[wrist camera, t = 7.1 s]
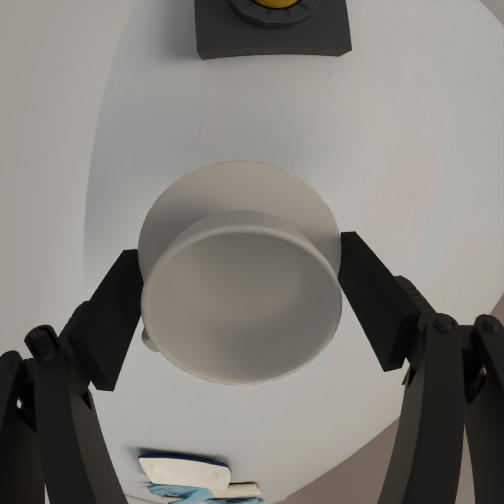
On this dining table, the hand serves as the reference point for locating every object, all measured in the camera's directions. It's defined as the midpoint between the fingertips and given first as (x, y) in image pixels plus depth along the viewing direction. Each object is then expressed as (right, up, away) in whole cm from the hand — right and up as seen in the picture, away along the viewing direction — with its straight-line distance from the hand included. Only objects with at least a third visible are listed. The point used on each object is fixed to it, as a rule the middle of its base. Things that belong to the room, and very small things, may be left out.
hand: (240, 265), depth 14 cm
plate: (-14, -49, +38) cm, 64 cm away
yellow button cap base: (+2, +22, +4) cm, 22 cm away
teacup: (0, 0, 0) cm, 0 cm away
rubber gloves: (-13, -72, +50) cm, 89 cm away
